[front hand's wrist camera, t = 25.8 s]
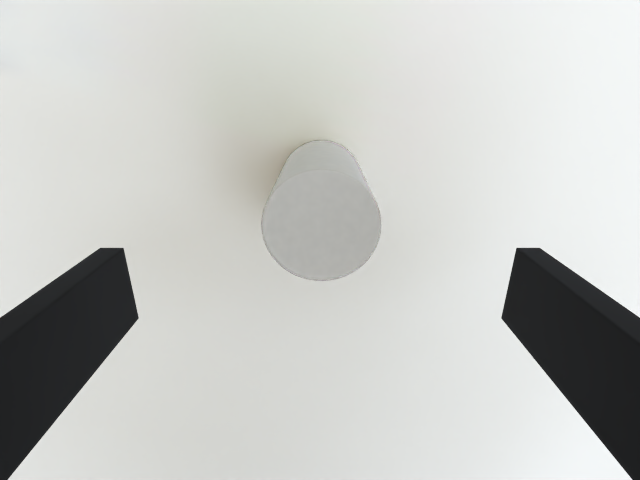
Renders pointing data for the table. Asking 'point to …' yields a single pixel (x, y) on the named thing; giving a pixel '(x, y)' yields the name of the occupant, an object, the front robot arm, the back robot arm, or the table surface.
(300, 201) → the canister
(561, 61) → the table surface
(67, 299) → the front robot arm
